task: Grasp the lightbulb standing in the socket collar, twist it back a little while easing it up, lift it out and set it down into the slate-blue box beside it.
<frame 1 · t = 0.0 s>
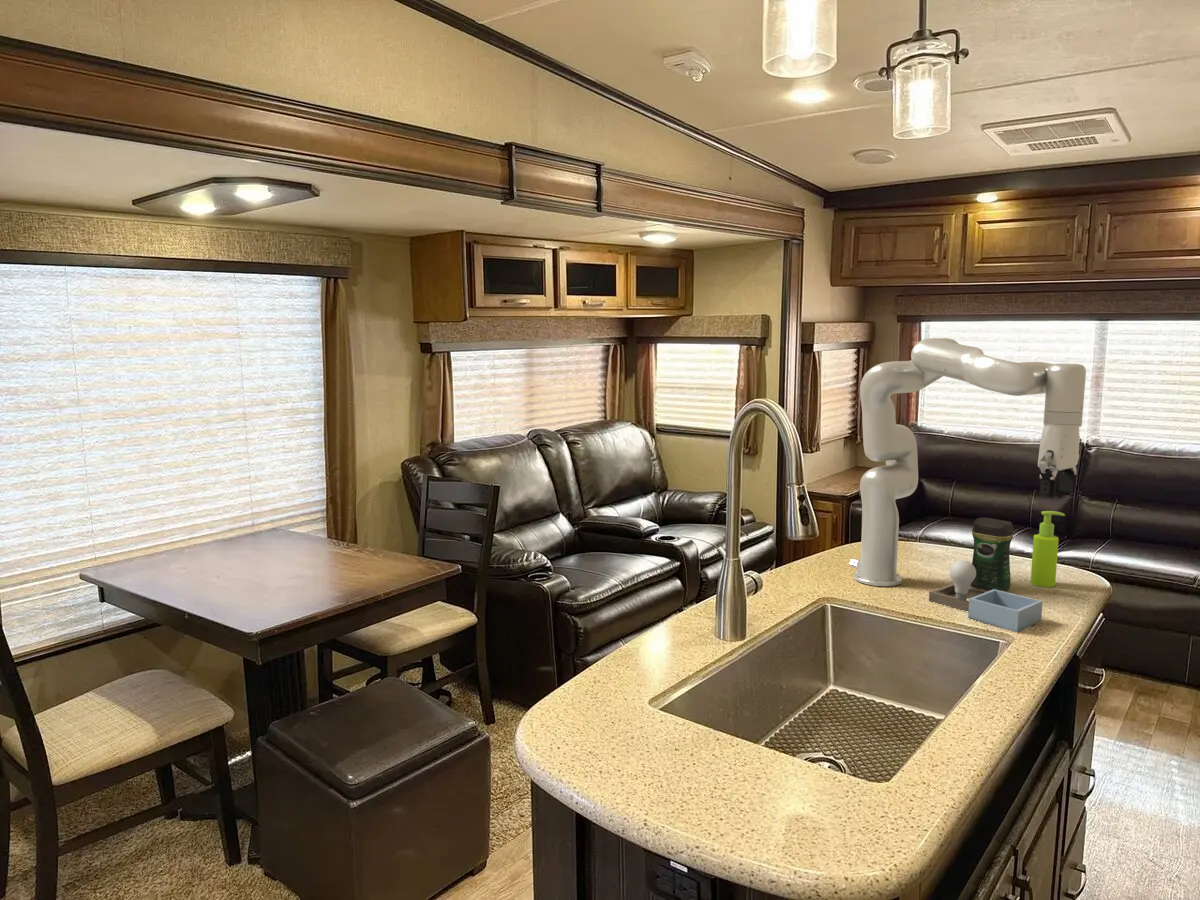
hand: (1057, 494, 185), 31 cm above the worktop, tool pointing down, fingers open, 9 cm apart
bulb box: (1004, 620, 194), on the worktop
socket collar: (960, 602, 206), on the worktop
soap dispenser: (1044, 584, 221), on the worktop
lightbulb: (960, 603, 206), resting in socket collar
coffee jar: (989, 587, 219), on the worktop
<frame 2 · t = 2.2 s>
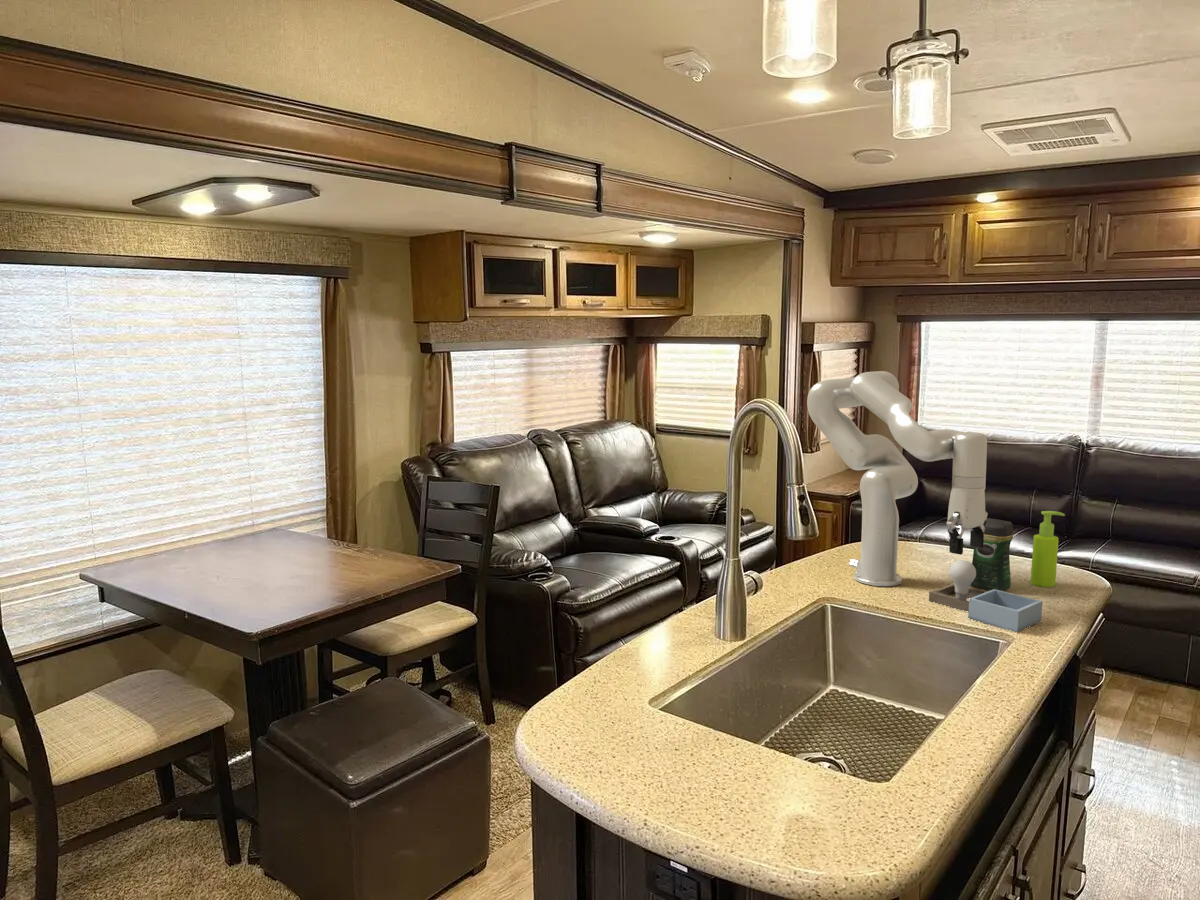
hand: (966, 550, 204), 14 cm above the worktop, tool pointing down, fingers open, 9 cm apart
nothing on the worktop moved.
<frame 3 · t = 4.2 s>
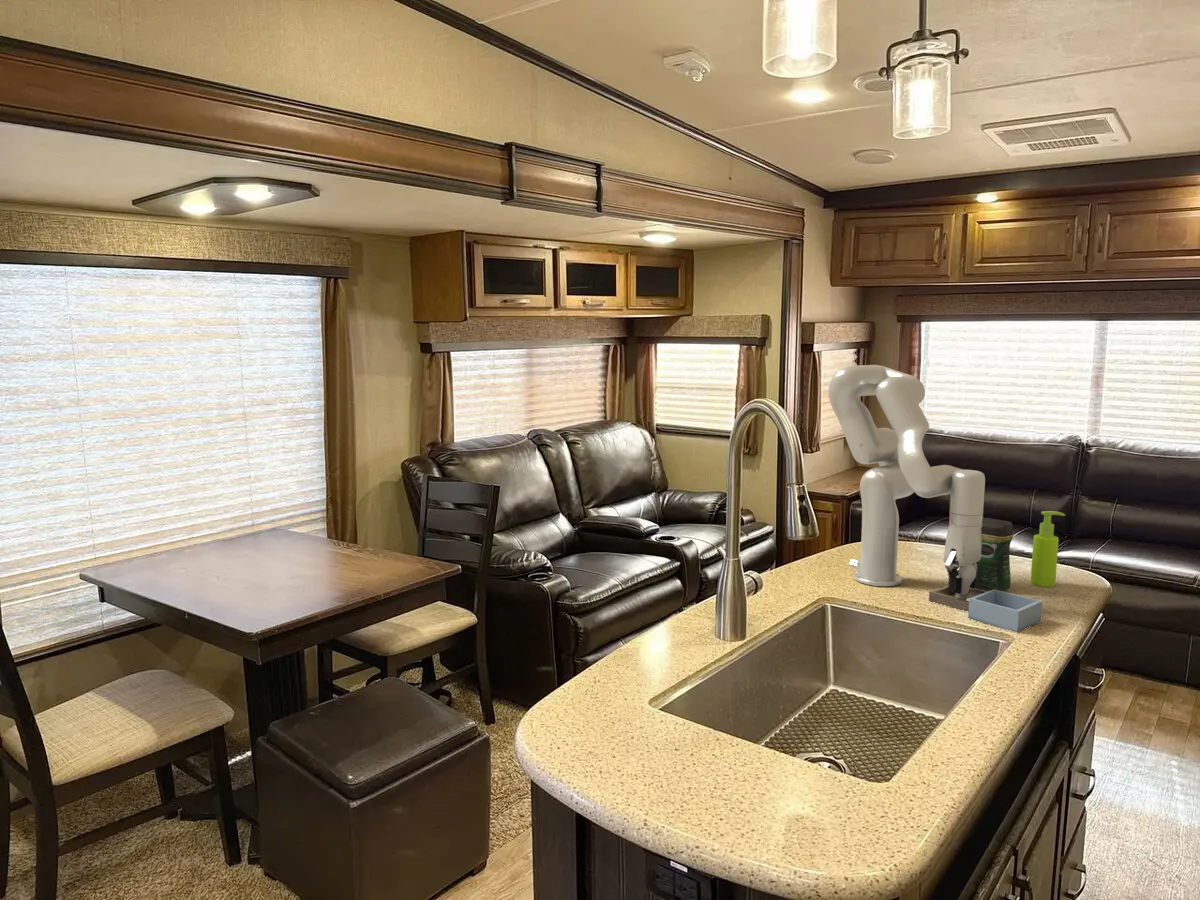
hand: (961, 588, 206), 4 cm above the worktop, tool pointing down, fingers closed on lightbulb, 5 cm apart
lightbulb: (960, 603, 206), resting in socket collar, touching gripper
everything else where it was.
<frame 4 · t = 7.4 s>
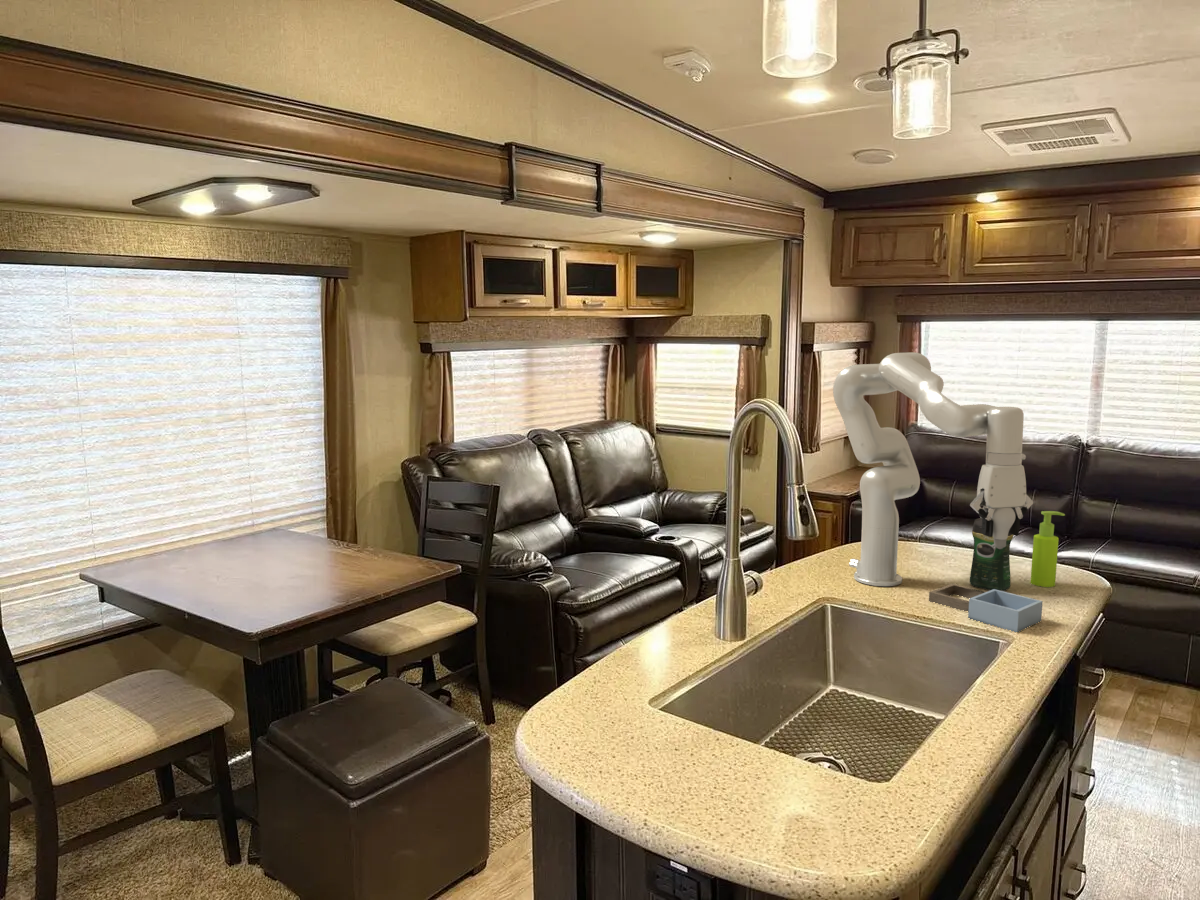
hand: (1000, 534, 193), 20 cm above the worktop, tool pointing down, fingers closed on lightbulb, 5 cm apart
lightbulb: (999, 549, 194), point 16 cm above the worktop, touching gripper
everything else where it was.
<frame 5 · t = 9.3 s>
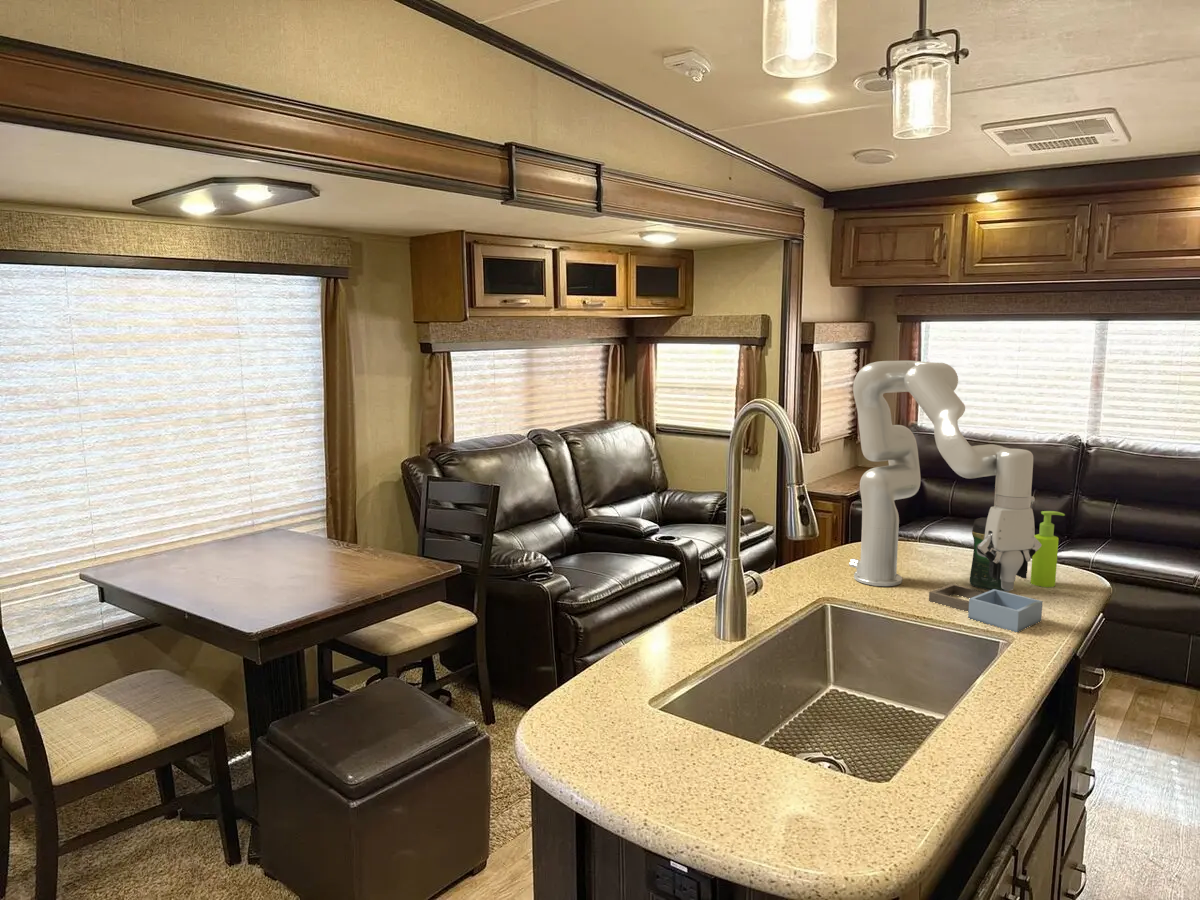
hand: (1007, 576, 192), 11 cm above the worktop, tool pointing down, fingers closed on lightbulb, 5 cm apart
lightbulb: (1007, 592, 192), point 7 cm above the worktop, touching gripper
everything else where it was.
when the fingers open (6 cm above the worktop, at t = 11.0 s): lightbulb drops 2 cm, resting on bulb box.
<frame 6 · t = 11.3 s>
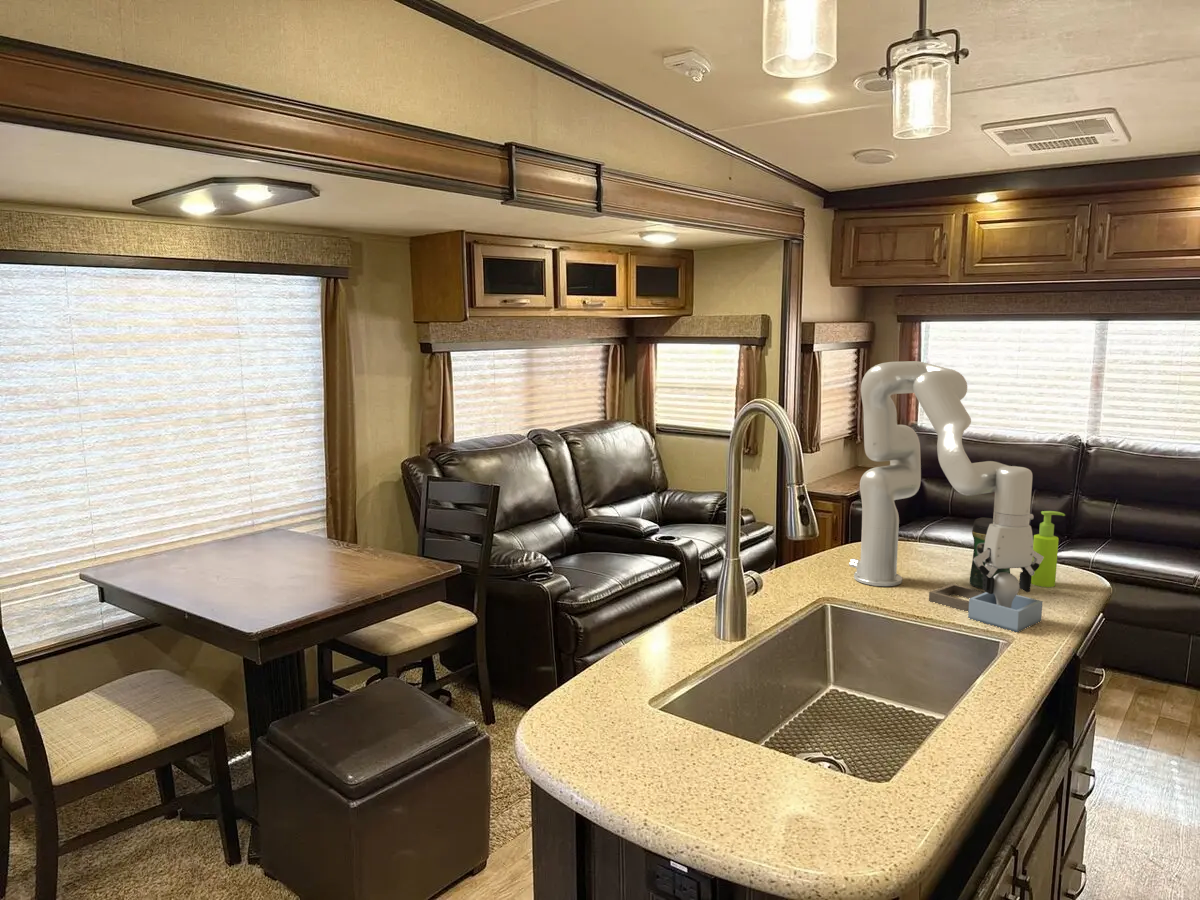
hand: (1006, 591, 193), 7 cm above the worktop, tool pointing down, fingers open, 8 cm apart
lightbulb: (1003, 618, 193), resting on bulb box
everything else where it was.
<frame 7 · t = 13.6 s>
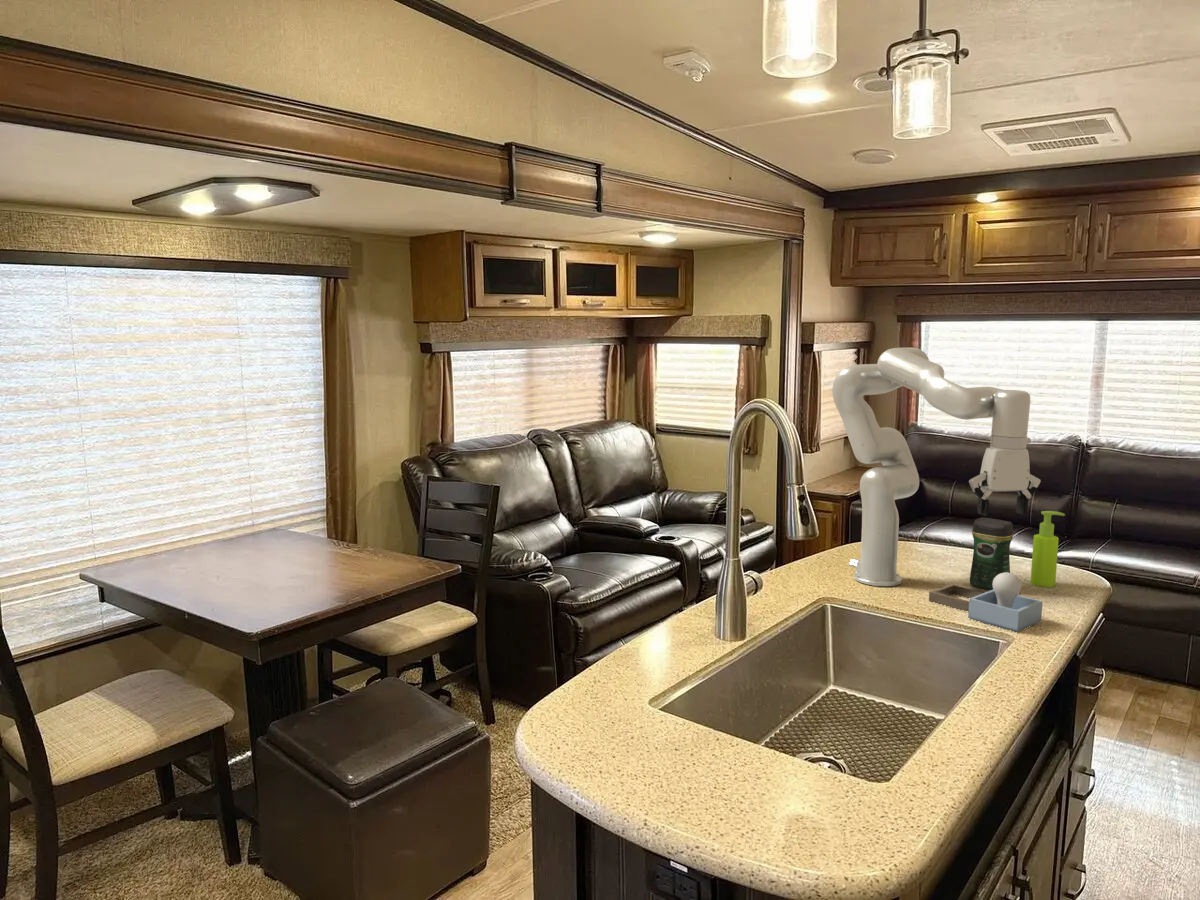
hand: (1001, 514, 194), 25 cm above the worktop, tool pointing down, fingers open, 9 cm apart
nothing on the worktop moved.
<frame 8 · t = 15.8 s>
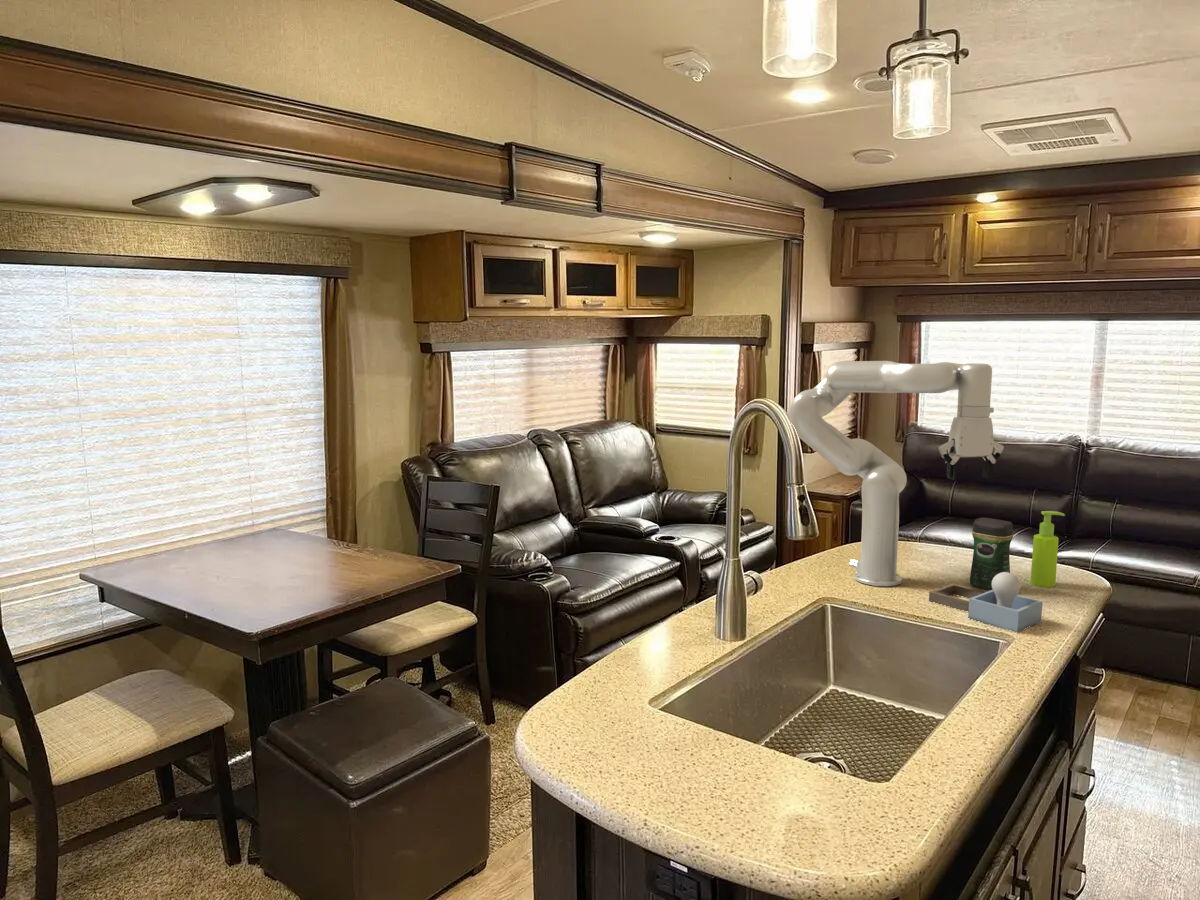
hand: (969, 478, 210), 30 cm above the worktop, tool pointing down, fingers open, 9 cm apart
nothing on the worktop moved.
at the end: lightbulb inside the target area on the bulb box (0.2 cm from its centre), point 0.4 cm above the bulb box's base; the gripper is holding nothing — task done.
